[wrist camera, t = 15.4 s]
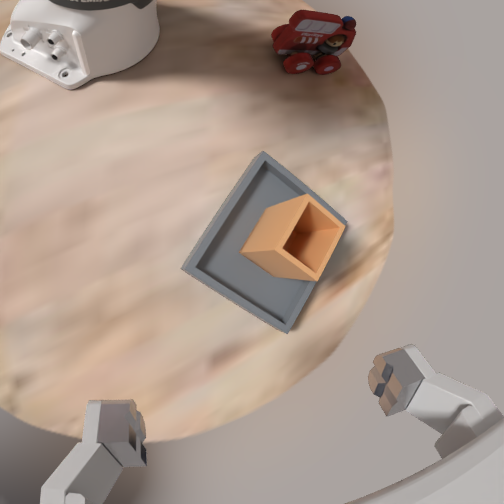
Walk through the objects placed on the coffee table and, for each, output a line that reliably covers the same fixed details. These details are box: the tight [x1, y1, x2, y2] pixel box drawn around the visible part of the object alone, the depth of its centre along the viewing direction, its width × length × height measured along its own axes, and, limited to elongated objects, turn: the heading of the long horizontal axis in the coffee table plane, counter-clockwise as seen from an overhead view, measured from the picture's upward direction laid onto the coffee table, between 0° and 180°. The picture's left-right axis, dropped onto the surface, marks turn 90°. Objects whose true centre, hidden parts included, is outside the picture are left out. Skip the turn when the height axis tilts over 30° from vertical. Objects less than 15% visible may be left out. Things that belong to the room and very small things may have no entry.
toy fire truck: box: [271, 10, 356, 75], centre depth 35 cm, size 7×12×10 cm, turn 108°
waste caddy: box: [239, 193, 346, 281], centre depth 32 cm, size 6×5×9 cm
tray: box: [181, 151, 347, 334], centre depth 36 cm, size 16×14×2 cm
